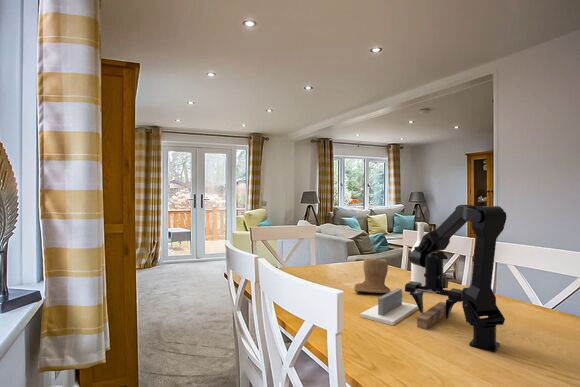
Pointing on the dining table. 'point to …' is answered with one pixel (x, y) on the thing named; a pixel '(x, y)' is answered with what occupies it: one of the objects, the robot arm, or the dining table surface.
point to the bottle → (416, 270)
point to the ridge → (390, 308)
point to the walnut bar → (431, 315)
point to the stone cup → (374, 276)
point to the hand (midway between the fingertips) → (434, 315)
